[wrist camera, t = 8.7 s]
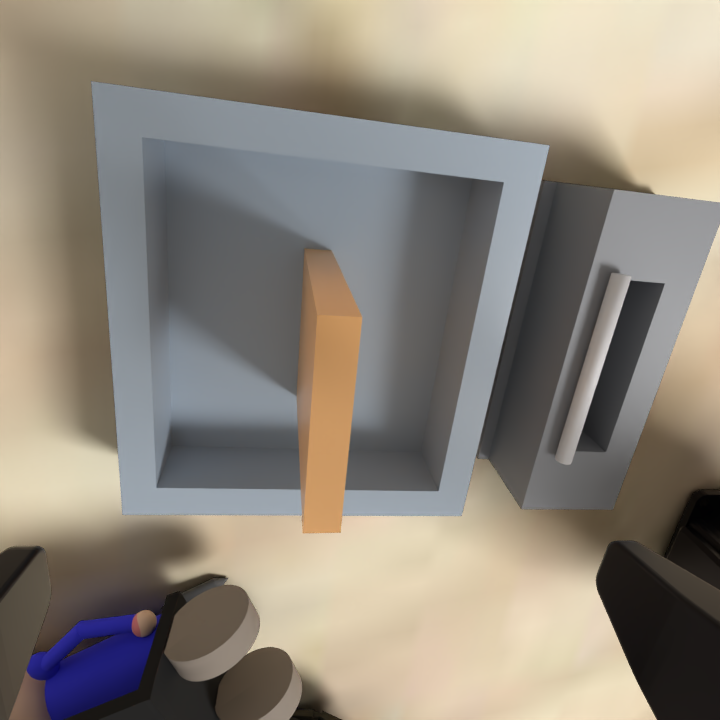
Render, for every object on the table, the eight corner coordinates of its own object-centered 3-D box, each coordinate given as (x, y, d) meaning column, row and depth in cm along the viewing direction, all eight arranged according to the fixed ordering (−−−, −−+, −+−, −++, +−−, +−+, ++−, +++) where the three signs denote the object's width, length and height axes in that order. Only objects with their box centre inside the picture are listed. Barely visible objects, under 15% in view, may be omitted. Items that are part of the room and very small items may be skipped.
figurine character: (240, 513, 25) (-67, 651, 23) (246, 647, 18) (-193, 857, 16) (292, 603, 28) (20, 732, 26) (315, 750, 21) (-55, 938, 19)
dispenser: (656, 194, 20) (757, 207, 16) (572, 455, 24) (633, 519, 20) (538, 179, 19) (611, 188, 15) (474, 452, 23) (515, 519, 19)
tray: (507, 145, 18) (549, 145, 15) (439, 470, 23) (461, 515, 20) (126, 93, 16) (91, 81, 13) (145, 464, 21) (122, 514, 18)
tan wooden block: (331, 250, 18) (362, 317, 11) (321, 396, 21) (340, 532, 13) (304, 248, 18) (317, 314, 11) (296, 396, 21) (302, 533, 13)
